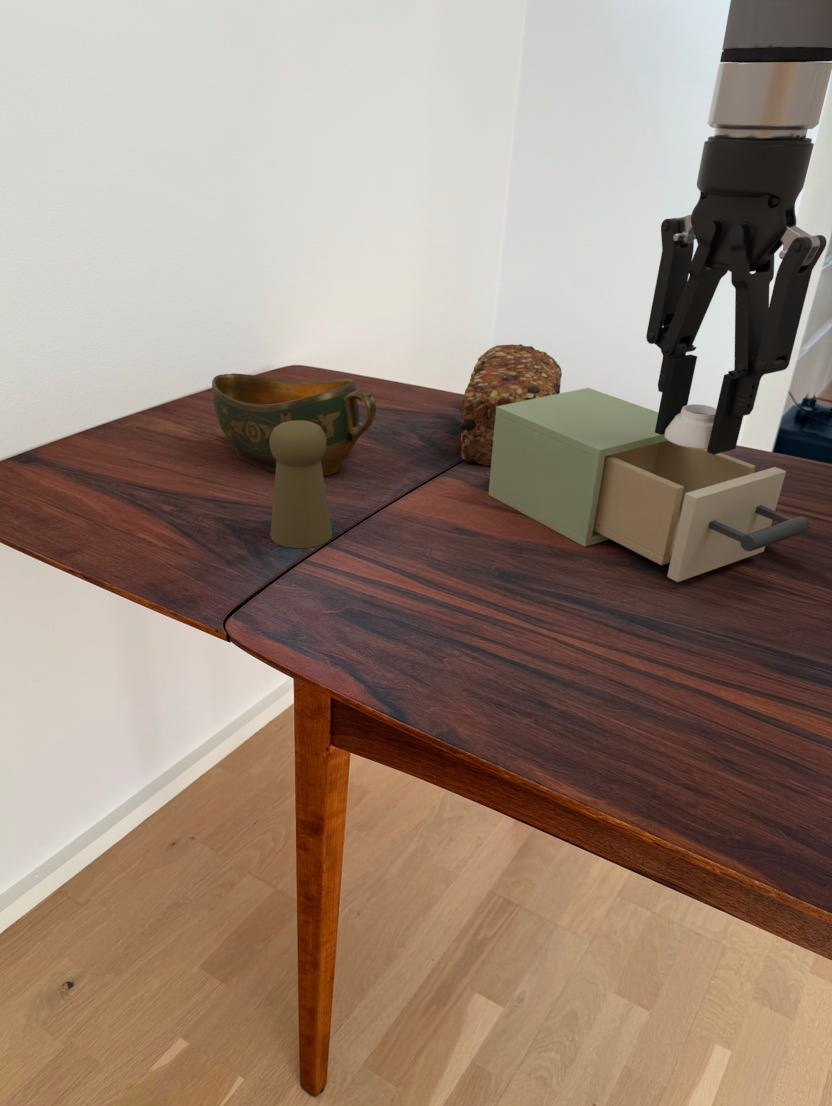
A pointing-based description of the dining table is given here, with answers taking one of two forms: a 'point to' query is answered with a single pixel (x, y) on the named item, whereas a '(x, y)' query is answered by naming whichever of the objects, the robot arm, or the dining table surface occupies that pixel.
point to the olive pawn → (299, 486)
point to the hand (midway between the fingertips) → (694, 439)
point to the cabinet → (563, 455)
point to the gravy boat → (289, 415)
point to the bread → (502, 392)
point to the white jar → (692, 427)
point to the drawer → (690, 507)
